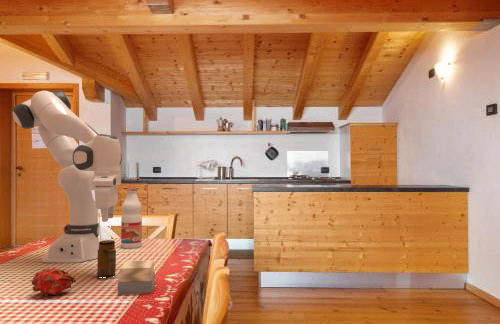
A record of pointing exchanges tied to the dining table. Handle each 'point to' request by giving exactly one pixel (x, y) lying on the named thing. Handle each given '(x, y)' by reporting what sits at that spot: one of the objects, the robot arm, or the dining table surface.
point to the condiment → (106, 260)
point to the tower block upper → (137, 271)
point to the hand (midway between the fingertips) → (107, 219)
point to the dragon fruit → (52, 281)
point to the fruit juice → (131, 221)
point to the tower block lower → (136, 287)
